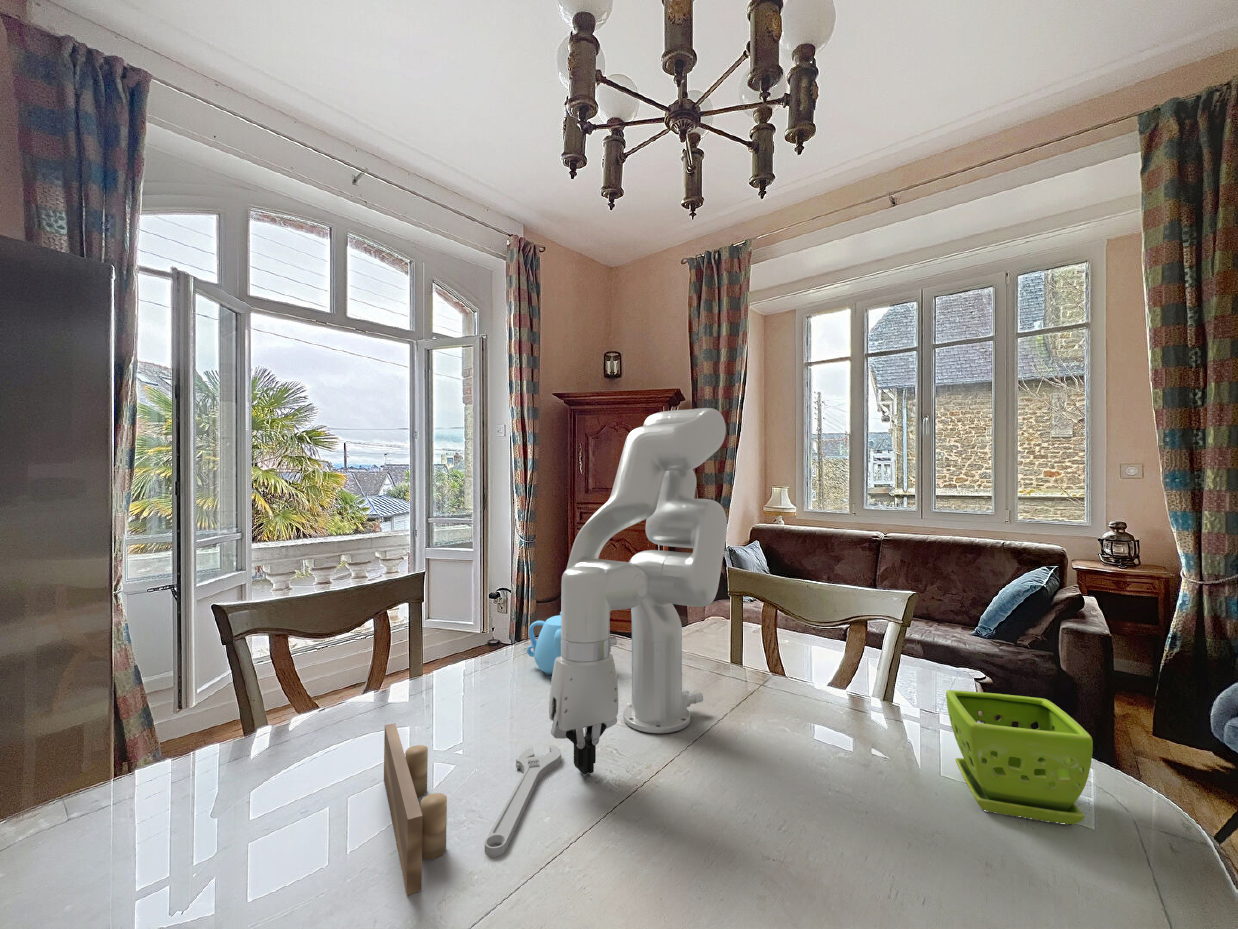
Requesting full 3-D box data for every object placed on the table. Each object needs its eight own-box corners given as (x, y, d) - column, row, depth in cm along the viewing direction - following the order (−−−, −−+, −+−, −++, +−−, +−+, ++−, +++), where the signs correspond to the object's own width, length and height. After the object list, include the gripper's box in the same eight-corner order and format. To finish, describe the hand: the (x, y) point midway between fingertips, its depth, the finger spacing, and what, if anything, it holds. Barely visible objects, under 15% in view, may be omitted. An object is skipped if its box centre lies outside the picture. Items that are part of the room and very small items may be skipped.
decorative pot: (521, 665, 132) (521, 609, 133) (579, 654, 141) (579, 601, 141) (550, 686, 119) (550, 624, 119) (612, 672, 127) (612, 614, 128)
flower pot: (1052, 784, 80) (1050, 697, 80) (1101, 843, 67) (1098, 739, 67) (944, 768, 85) (943, 685, 85) (970, 820, 71) (968, 723, 72)
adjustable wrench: (502, 863, 64) (502, 847, 64) (452, 855, 65) (452, 840, 65) (565, 756, 89) (565, 745, 89) (527, 753, 90) (527, 742, 90)
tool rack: (420, 770, 83) (421, 718, 84) (456, 878, 61) (457, 806, 61) (383, 779, 81) (384, 725, 81) (406, 895, 58) (407, 819, 58)
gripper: (616, 636, 90) (615, 748, 89) (530, 648, 83) (529, 770, 82) (639, 648, 83) (639, 769, 83) (548, 663, 76) (547, 795, 76)
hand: (584, 769), depth 82 cm, fingers closed
